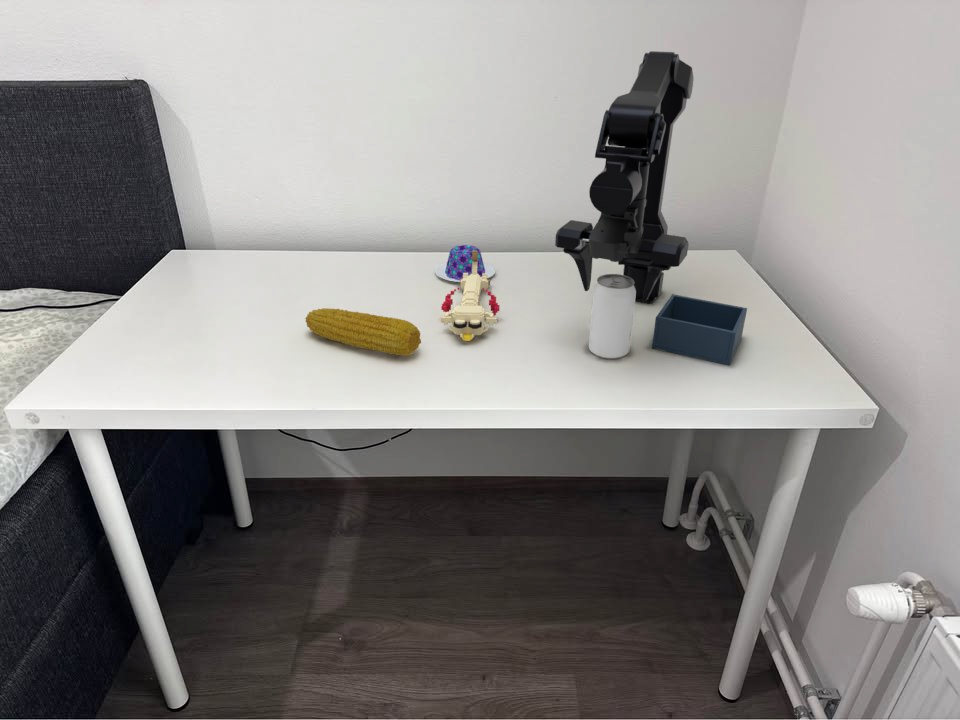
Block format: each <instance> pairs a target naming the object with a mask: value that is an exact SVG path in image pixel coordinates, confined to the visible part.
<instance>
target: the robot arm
mask: <svg viewBox="0 0 960 720" xmlns="http://www.w3.org/2000/svg"><path fill="white" fill-rule="evenodd" d="M693 87H694V72H693V67H692V66H691V65H689V64H688V63H686V62H684V61H683V60H681V59H680V55H679V54H678V53H675V52H674V51H656V50H655V51H653V50H650V51H649V52H645V53H644V55H643V59H642V62H641V63H640V64H639V66H638V72H637V76H636V79H635V81H634V82H633V84H632V87H631V88H630V90H629V92H628V93H625V94H621V95H619V96H617V97H616V98H615V99H614V100H613V102H612V103H611V104H610V106H609V108H608V109H606V110H605V112H604V114H603V118H602V122H601V127H600V130H599V135H598V139H597V144H596V149H595V153H594V158H595V159H605V164H604V168H603V170H602V171H601V172H599V174H597V175H596V176H595V178H594V179H593V180H592V182H591V184H590V186H589V190H588V192H589V193H588V195H589V199H590V202H591V204H592V206H593V208H595V209H596V210H597V211H598V212H600V216H599V218H598V220H597V222H596V224H595V225H594V227H593V223H592V222H586V221H580V220H574V219H573V220H572V219H571V220H569V221H568V222H567V223H565V224H564V225H563V226H561V227H560V228H559V229H557V230H556V234H555V242H554V246H555V247H557V248H559V249H562V250H563V253H564V254H567V255H569V256H570V257H571V259H573V260H574V262H575V264H576V267H577V269H578V270H577V271H578V273H579V276H580V279H581V283H582V286H583V290H584V291H585V292H588V291H589V290H590V287H591V283H592V271H593V268H592V267H593V259H596V260H599V259H602V260H608V261H610V262H614V263H617V265H619V266H622V265H623V273H622V275H625V276H628V277H630V278H632V279H633V280H634V287H635V290H636V298H635V302H641V303H647V304H653V303H654V302H655V300H656V299H657V298H659V297H660V296H661V294H662V291H663V284H664V277H665V273H664V272H665V271H669V270H670V269H671V268H675V267H679V266H680V265H681V264H682V262H683V261H684V260H685V259H686V257H687V256H688V251H689V246H690V245H689V244H690V243H689V241H688V239H687V238H686V237H685V236H680V235H674V234H668V228H669V227H668V223H667V222H666V219H665V217H664V215H663V213H662V207H663V199H664V192H665V185H666V178H667V172H668V165H669V159H670V152H671V151H670V150H671V145H672V138H673V137H672V136H673V130H674V125H675V123H676V122H677V121H678V119H679V118H680V116H681V115H682V114H683V112H685V110H686V107H687V102H688V100H690V99H691V97H692V93H693Z"/></svg>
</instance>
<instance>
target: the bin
mask: <svg viewBox="0 0 960 720" xmlns="http://www.w3.org/2000/svg"><path fill="white" fill-rule="evenodd" d="M747 313H748V308H747V307H743V306H739V305H732V304H727V303H721V302H717V301H711V300H705V299H700V298H695V297H689V296H685V295H680V294H674V293H672V294H671V295H670V296H669V298H667V301H666V302H665V303H664V305H663V306H662V307H661V309H660V310H659V312H658V313H657V314H656V316H655V321H654V327H653V334H652V335H653V336H652V343H651V349H653V350H658V351H663V352H667V353H672V354H676V355H680V356H685V357H689V358H694V359H699V360H703V361H708V362H712V363H718V364H721V365H726V366H730V365H731V363H732V361H733V359H734V356H735V354H736V352H737V349H738V348H739V345H740V343H741V340H742V337H743V332H744V327H745V322H746V316H747Z"/></svg>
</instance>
